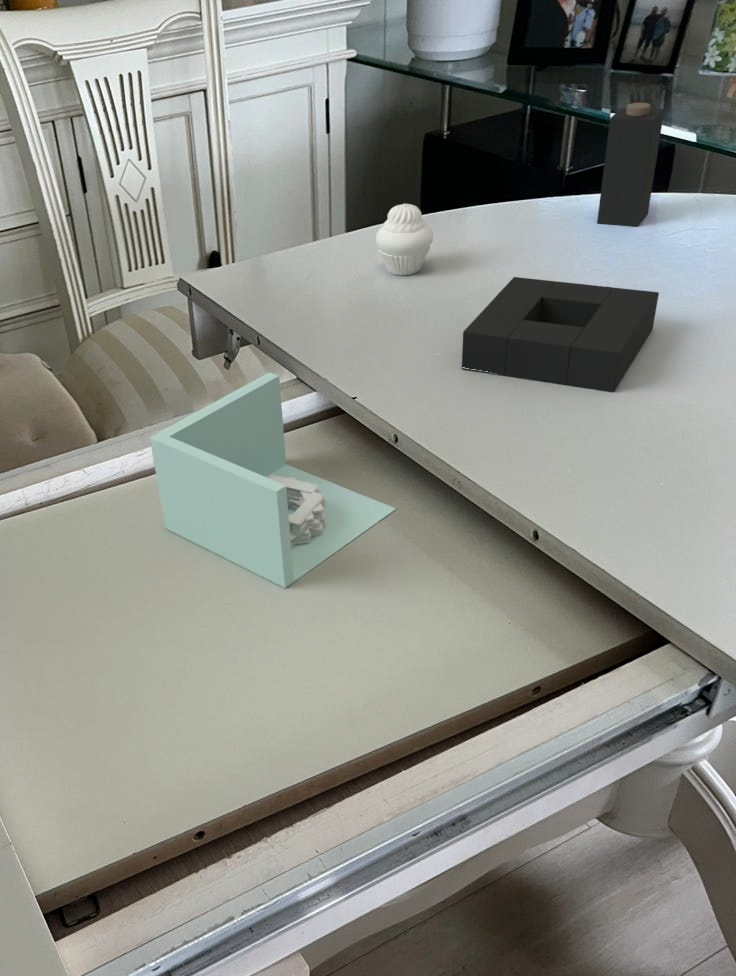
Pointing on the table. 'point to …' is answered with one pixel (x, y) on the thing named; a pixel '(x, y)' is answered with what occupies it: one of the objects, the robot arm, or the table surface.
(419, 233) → the muffin
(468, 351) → the base pad
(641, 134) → the pad post
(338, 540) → the right angle wall
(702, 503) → the table surface
